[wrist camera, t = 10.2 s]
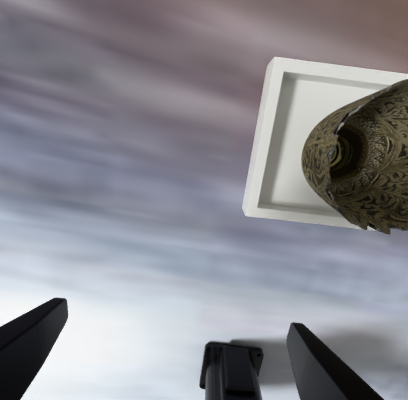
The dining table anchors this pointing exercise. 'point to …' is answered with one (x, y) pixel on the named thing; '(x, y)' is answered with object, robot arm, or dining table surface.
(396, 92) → the brown hollow flared piece
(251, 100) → the dining table surface
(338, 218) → the white tray
